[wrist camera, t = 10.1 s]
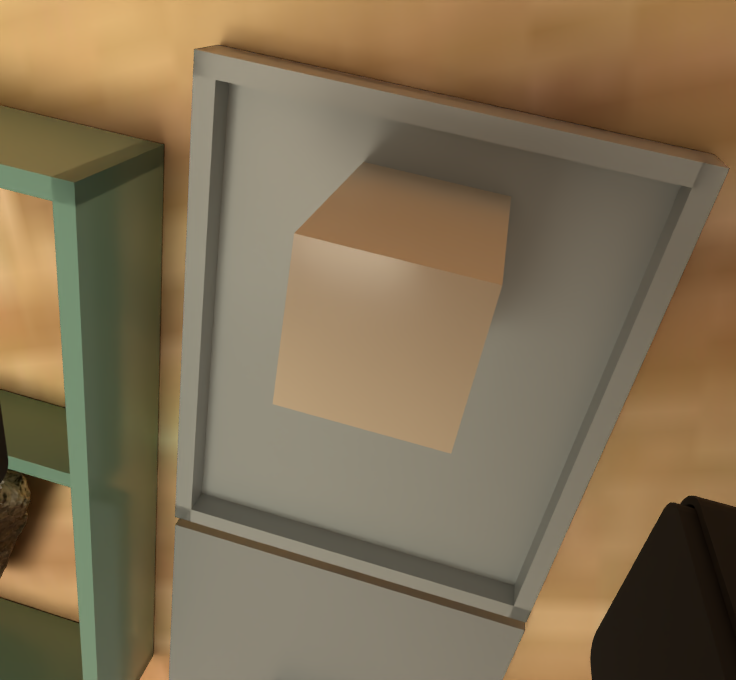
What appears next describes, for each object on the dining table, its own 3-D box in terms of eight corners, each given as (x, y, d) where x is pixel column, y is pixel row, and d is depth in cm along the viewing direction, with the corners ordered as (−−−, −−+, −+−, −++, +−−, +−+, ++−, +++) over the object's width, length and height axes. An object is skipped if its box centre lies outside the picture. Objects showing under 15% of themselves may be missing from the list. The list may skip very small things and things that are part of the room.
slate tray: (726, 157, 16) (746, 174, 15) (428, 830, 33) (423, 872, 31) (208, 42, 18) (177, 47, 16) (173, 743, 34) (156, 779, 33)
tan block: (510, 196, 17) (502, 285, 12) (472, 328, 19) (451, 453, 14) (363, 161, 18) (293, 232, 13) (340, 294, 20) (272, 404, 15)
